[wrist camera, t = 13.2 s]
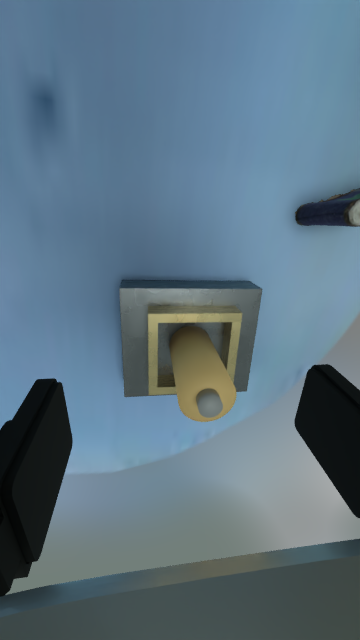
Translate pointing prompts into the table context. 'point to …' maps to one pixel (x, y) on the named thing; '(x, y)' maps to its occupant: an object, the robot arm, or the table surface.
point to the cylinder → (200, 376)
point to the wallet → (332, 211)
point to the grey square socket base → (181, 311)
